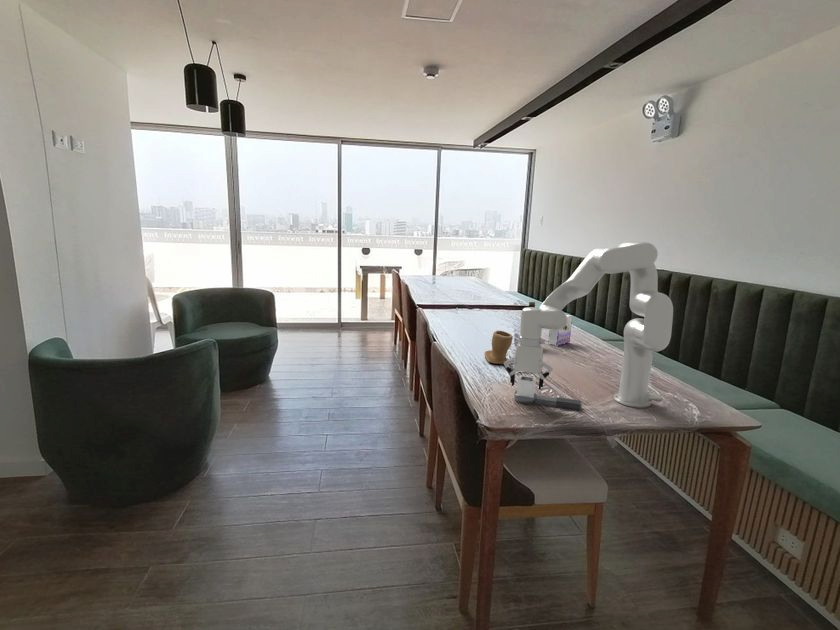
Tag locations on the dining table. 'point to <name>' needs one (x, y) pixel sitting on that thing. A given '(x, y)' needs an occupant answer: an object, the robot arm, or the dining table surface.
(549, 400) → the ratchet
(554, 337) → the candy box
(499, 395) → the dining table surface
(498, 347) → the tan boot
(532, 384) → the socket
